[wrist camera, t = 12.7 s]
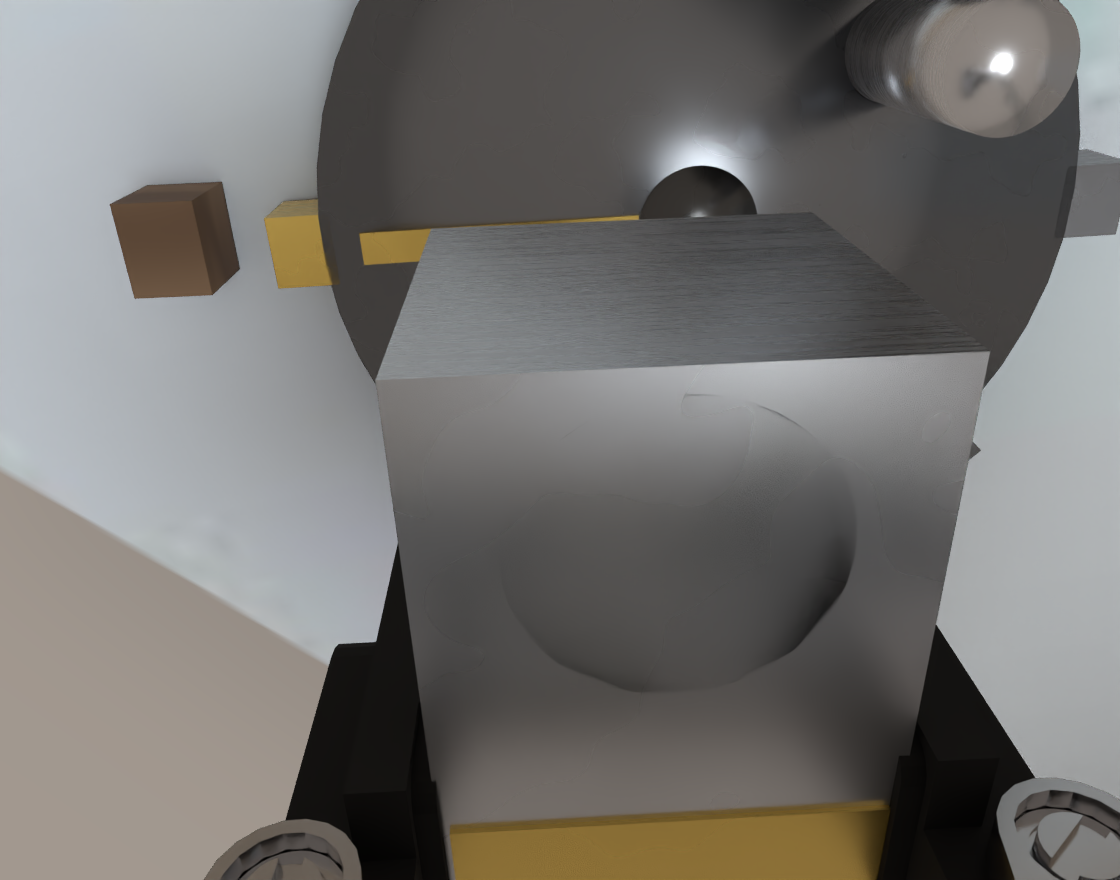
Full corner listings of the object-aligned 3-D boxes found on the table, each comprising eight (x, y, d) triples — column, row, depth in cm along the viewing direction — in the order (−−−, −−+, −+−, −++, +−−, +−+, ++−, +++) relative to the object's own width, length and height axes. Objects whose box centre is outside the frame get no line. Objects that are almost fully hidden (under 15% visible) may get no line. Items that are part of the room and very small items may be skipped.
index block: (239, 268, 25) (212, 294, 23) (168, 272, 25) (134, 298, 23) (221, 181, 24) (191, 200, 22) (147, 185, 24) (109, 204, 22)
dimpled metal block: (751, 855, 14) (831, 1159, 10) (495, 870, 14) (486, 1181, 10) (811, 212, 9) (994, 353, 6) (431, 228, 9) (373, 383, 6)
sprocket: (1229, 221, 25) (1490, 308, 18) (644, 650, 31) (676, 834, 24) (757, -581, 17) (901, -945, 11) (113, 195, 24) (-54, 277, 17)
